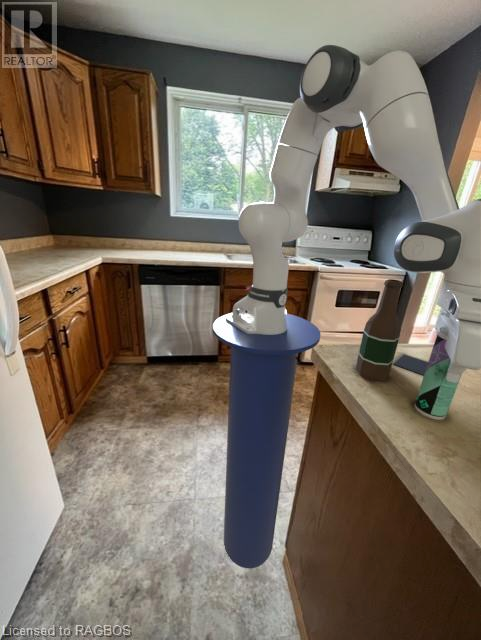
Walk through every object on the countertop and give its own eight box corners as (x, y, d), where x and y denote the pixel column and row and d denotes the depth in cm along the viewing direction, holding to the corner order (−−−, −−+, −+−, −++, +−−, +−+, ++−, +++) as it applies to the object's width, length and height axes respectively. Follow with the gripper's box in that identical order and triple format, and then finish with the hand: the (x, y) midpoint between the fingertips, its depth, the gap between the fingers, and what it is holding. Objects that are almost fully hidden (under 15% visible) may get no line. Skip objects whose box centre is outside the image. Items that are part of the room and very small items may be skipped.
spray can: (434, 403, 58) (465, 315, 51) (452, 420, 53) (489, 326, 46) (408, 401, 58) (436, 314, 52) (424, 419, 53) (456, 324, 46)
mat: (393, 364, 74) (393, 363, 74) (403, 354, 80) (403, 354, 80) (436, 379, 67) (436, 379, 67) (444, 368, 73) (444, 367, 73)
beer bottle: (370, 383, 64) (395, 284, 56) (348, 367, 71) (367, 277, 63) (395, 379, 67) (422, 283, 59) (372, 364, 74) (393, 276, 65)
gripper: (438, 286, 58) (420, 345, 62) (460, 310, 40) (434, 389, 45) (475, 290, 55) (454, 351, 60) (516, 318, 38) (481, 401, 42)
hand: (445, 368), depth 52 cm, fingers open, 8 cm apart
